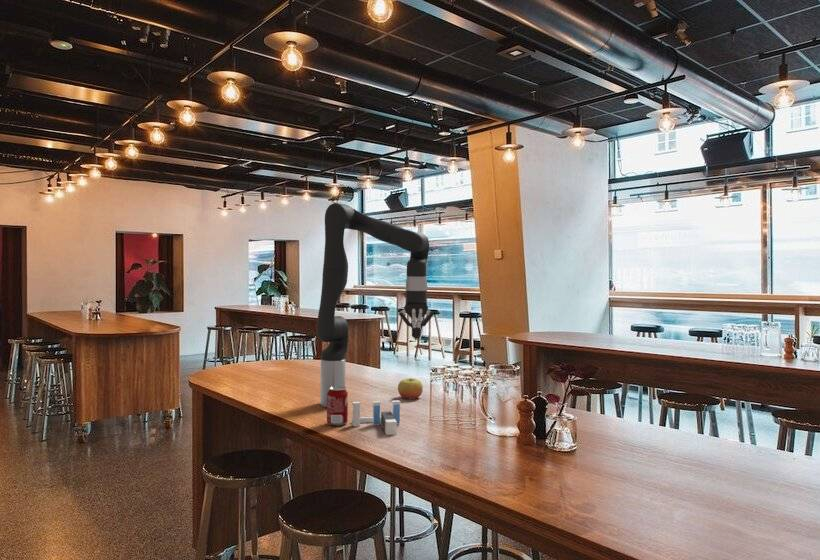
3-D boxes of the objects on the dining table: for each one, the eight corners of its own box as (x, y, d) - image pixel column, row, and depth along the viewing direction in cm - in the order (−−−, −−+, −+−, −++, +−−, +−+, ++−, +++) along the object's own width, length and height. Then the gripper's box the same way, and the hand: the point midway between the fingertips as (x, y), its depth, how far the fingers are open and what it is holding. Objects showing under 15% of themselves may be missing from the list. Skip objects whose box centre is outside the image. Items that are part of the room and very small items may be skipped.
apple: (408, 402, 218) (409, 381, 218) (392, 397, 225) (393, 377, 225) (427, 398, 224) (427, 378, 224) (411, 394, 232) (411, 374, 231)
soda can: (343, 427, 182) (344, 390, 182) (323, 426, 184) (324, 389, 183) (350, 421, 189) (350, 386, 189) (330, 420, 190) (331, 385, 190)
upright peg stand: (351, 422, 188) (351, 399, 188) (397, 420, 191) (397, 398, 191) (352, 426, 183) (353, 403, 183) (400, 424, 186) (400, 401, 186)
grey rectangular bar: (381, 423, 188) (381, 411, 188) (390, 423, 188) (390, 411, 188) (386, 435, 175) (386, 422, 175) (396, 434, 175) (396, 421, 175)
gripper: (432, 289, 204) (431, 336, 204) (396, 288, 201) (395, 337, 201) (437, 289, 196) (436, 339, 197) (399, 289, 194) (399, 340, 194)
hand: (415, 338), depth 199 cm, fingers closed
